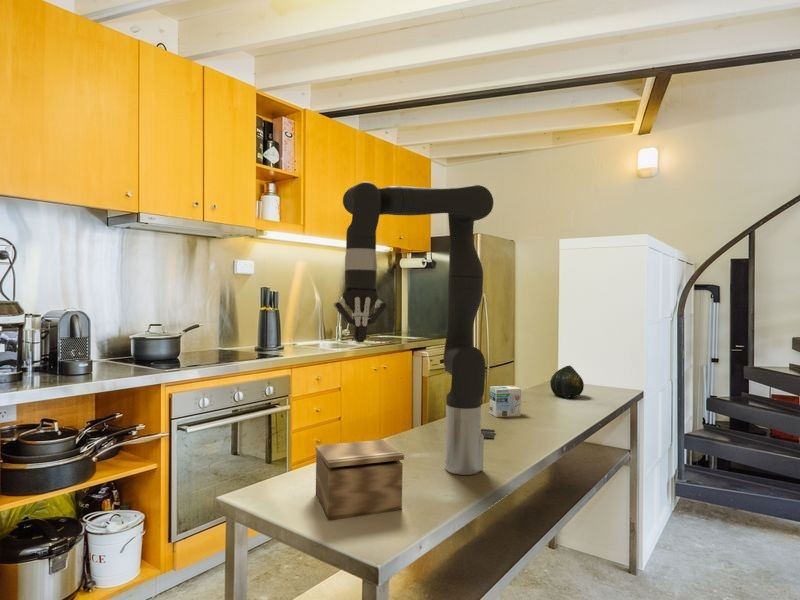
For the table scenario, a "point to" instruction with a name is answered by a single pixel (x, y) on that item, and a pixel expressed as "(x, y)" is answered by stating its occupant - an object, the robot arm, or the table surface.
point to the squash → (567, 383)
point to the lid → (358, 453)
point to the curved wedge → (488, 433)
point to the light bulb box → (505, 401)
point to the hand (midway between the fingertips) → (359, 341)
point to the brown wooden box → (359, 488)
